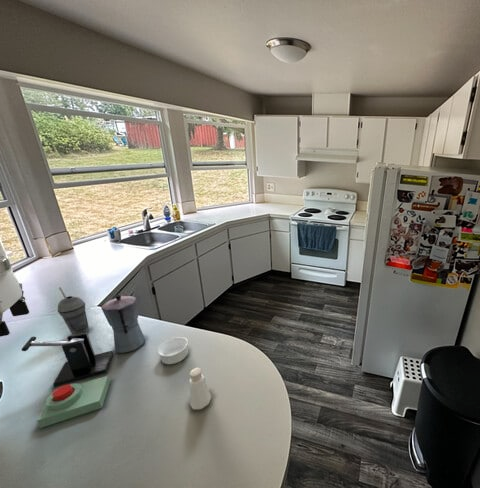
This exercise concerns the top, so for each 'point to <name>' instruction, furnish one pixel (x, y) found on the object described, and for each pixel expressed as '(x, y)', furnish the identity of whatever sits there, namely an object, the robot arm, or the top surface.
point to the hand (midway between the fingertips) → (11, 324)
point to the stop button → (62, 392)
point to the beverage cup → (73, 313)
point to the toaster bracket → (81, 361)
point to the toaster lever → (47, 343)
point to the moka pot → (124, 323)
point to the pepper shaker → (198, 390)
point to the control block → (75, 402)
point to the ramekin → (173, 350)
